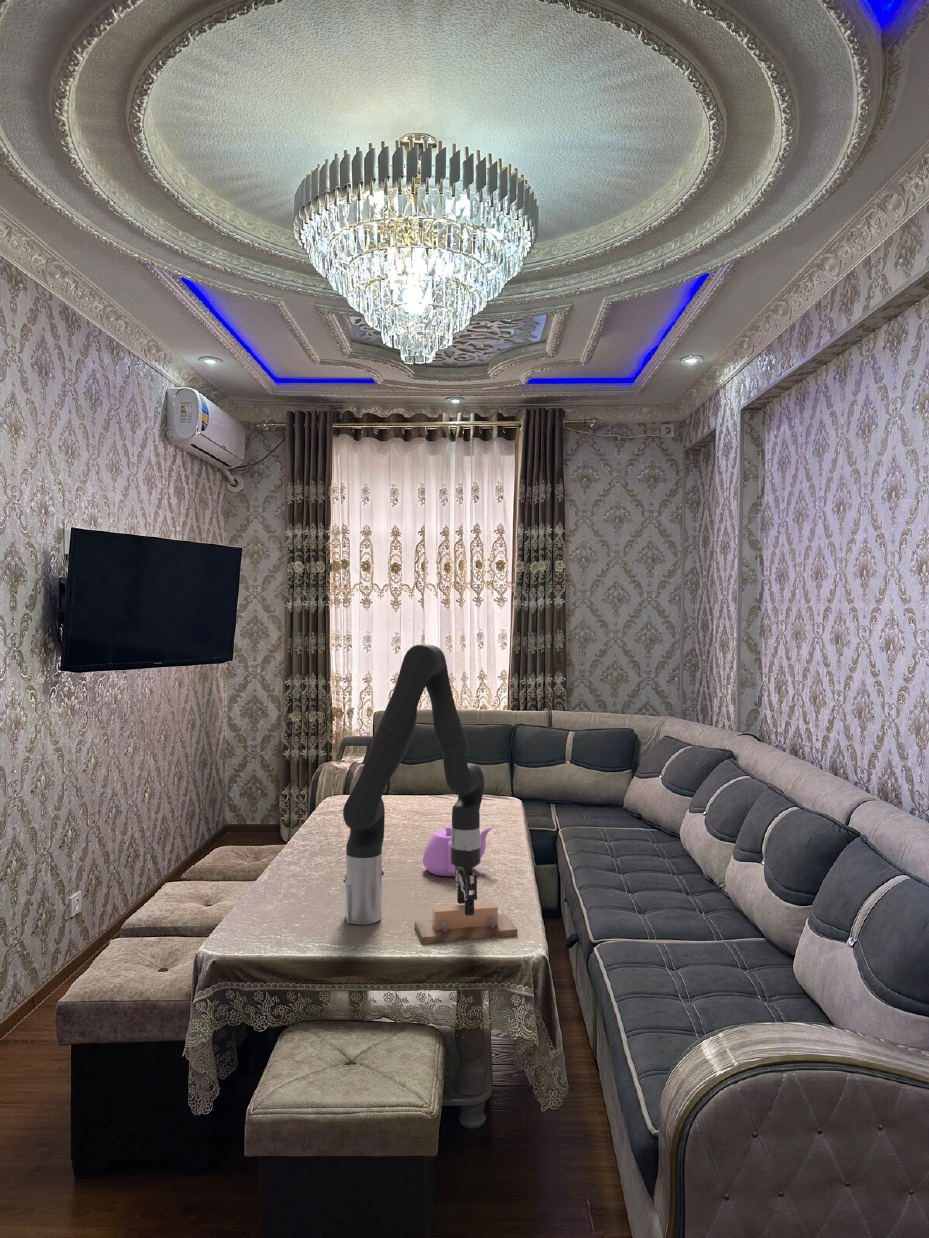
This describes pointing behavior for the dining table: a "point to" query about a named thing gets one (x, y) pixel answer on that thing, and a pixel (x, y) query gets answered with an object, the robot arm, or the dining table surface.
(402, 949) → the dining table surface
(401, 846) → the dining table surface
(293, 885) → the dining table surface
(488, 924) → the clay strip
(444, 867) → the teapot
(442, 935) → the rack
